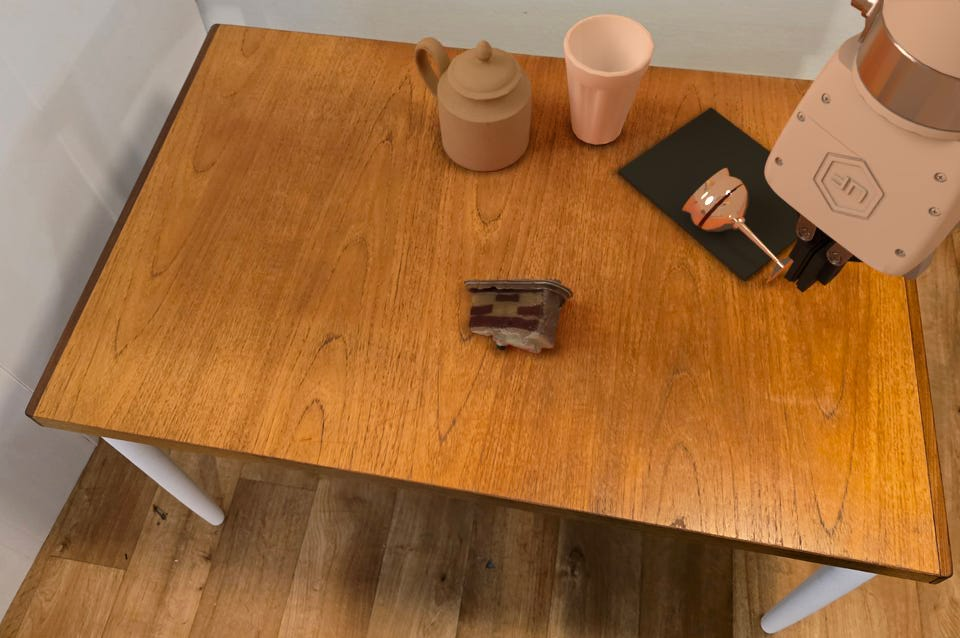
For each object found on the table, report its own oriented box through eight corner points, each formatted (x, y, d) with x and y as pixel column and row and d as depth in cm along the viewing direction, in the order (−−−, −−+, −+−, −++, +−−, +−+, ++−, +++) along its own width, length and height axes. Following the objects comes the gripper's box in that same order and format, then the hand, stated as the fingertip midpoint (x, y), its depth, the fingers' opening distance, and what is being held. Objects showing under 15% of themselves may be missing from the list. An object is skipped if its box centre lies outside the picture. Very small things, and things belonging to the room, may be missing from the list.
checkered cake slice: (445, 342, 79) (519, 338, 70) (456, 279, 81) (531, 267, 72) (511, 362, 85) (588, 361, 76) (520, 303, 87) (597, 294, 77)
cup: (594, 171, 90) (607, 89, 79) (540, 124, 94) (544, 40, 82) (653, 131, 93) (674, 46, 81) (598, 87, 97) (610, 1, 85)
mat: (838, 207, 86) (840, 204, 86) (744, 281, 82) (745, 278, 81) (709, 110, 94) (710, 107, 94) (617, 173, 90) (618, 169, 89)
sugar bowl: (402, 161, 92) (384, 65, 78) (424, 97, 97) (411, -3, 84) (521, 178, 90) (524, 83, 77) (537, 112, 95) (542, 12, 82)
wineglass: (818, 236, 77) (735, 157, 80) (771, 275, 76) (689, 194, 79) (794, 260, 83) (718, 186, 86) (751, 297, 82) (675, 221, 85)
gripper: (768, 10, 36) (687, 233, 52) (1053, 197, 30) (863, 384, 46) (866, -53, 38) (759, 180, 54) (1150, 110, 32) (936, 318, 48)
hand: (807, 273), depth 50 cm, fingers closed
